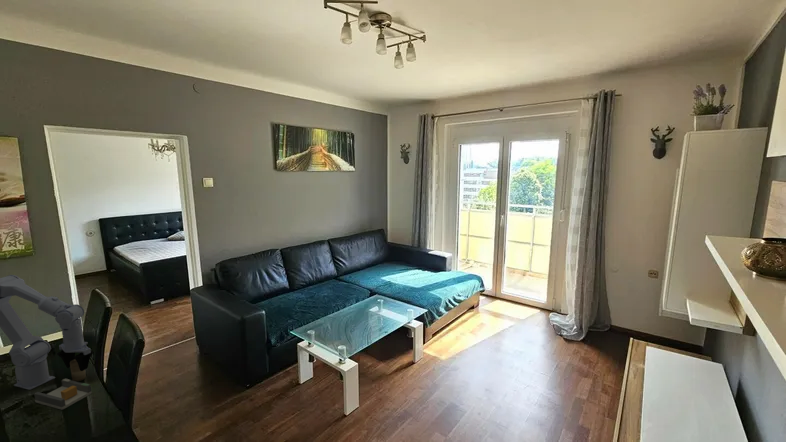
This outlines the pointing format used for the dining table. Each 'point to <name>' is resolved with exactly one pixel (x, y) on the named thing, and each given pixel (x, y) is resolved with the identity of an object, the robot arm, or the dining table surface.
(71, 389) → the block
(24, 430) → the dining table surface
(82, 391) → the grey tray
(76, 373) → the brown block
